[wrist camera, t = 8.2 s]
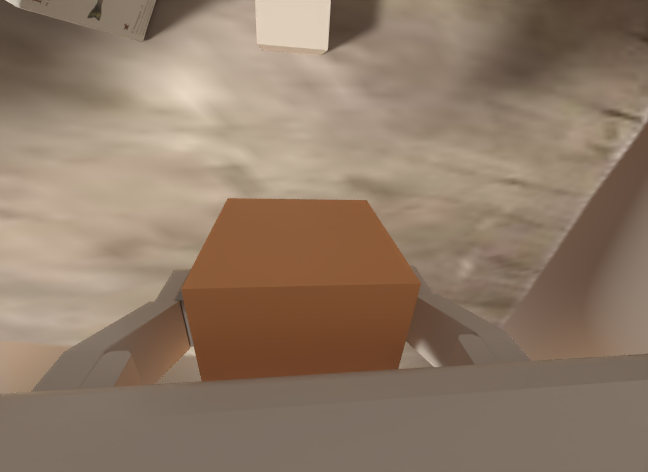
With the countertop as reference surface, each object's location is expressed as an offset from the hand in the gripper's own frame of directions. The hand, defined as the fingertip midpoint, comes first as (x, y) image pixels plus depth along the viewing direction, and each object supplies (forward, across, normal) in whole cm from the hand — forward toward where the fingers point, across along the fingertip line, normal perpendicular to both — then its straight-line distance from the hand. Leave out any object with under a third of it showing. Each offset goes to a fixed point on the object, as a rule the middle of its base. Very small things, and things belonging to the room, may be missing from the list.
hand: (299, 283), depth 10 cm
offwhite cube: (+21, 0, -11) cm, 24 cm away
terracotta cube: (+2, 0, 0) cm, 2 cm away
